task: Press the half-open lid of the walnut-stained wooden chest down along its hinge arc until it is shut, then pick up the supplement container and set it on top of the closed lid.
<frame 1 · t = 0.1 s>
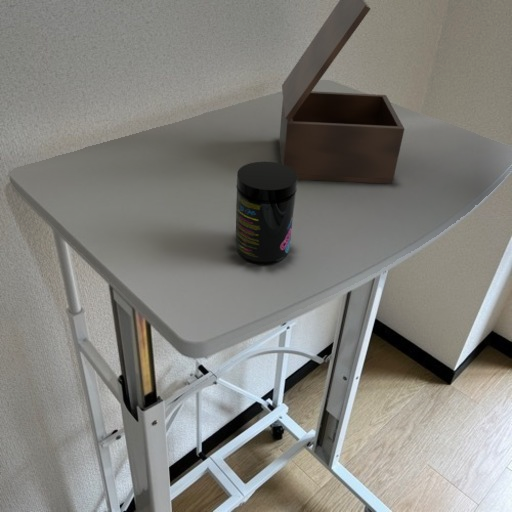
chest: (332, 161, 88), on the table
supplement container: (261, 252, 67), on the table
lid: (320, 51, 78), point 17 cm above the table, hinge at 60.0°
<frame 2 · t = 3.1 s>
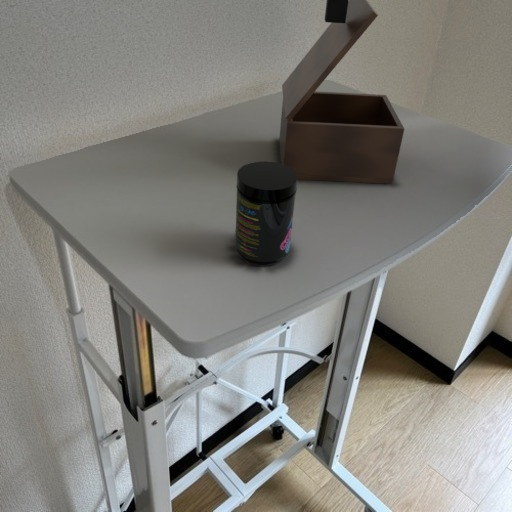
hand: (334, 21, 76), 21 cm above the table, tool pointing down, fingers closed
lid: (324, 54, 78), point 16 cm above the table, hinge at 55.8°, touching gripper
everything else where it was.
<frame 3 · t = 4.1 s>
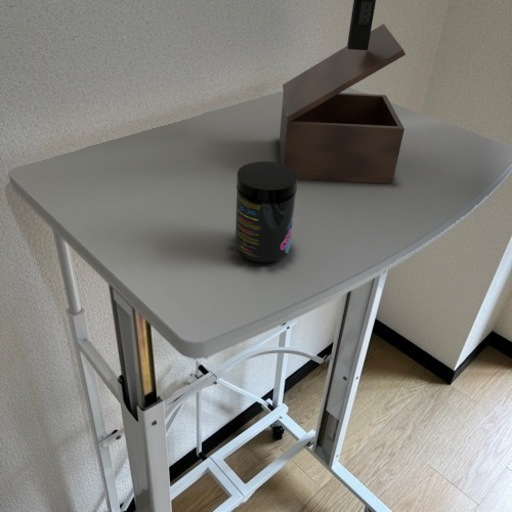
hand: (357, 48, 78), 18 cm above the table, tool pointing down, fingers closed
lid: (337, 71, 80), point 14 cm above the table, hinge at 34.7°, touching gripper
everything else where it was.
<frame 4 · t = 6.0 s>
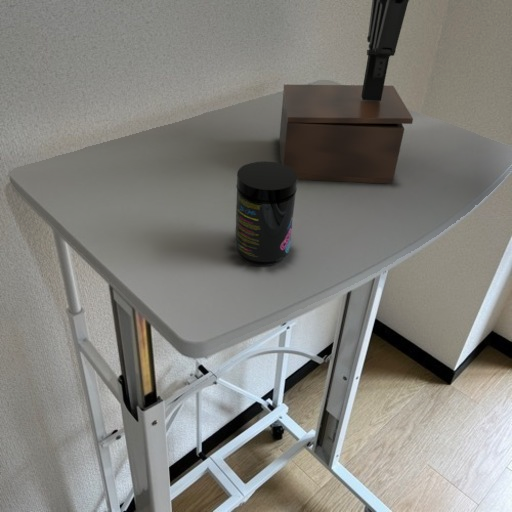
hand: (371, 98, 82), 10 cm above the table, tool pointing down, fingers closed
lid: (343, 102, 82), point 10 cm above the table, hinge at 2.3°, touching gripper
everything else where it was.
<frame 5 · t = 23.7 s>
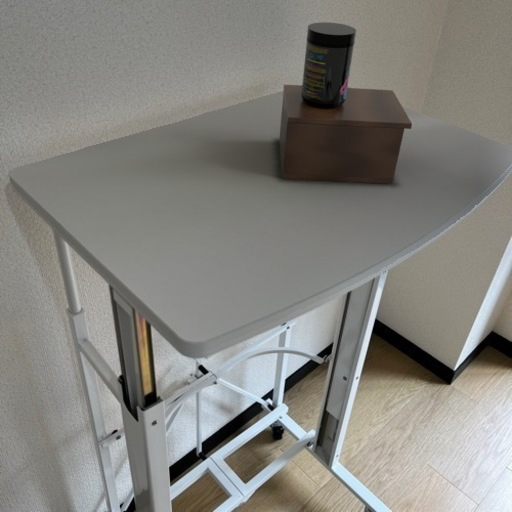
supplement container: (322, 102, 82), point 9 cm above the table, touching lid
lid: (343, 105, 83), point 9 cm above the table, hinge at -0.2°, touching chest, supplement container
at the end: lid at +0° (first picture: +60°); supplement container inside the target area on the chest (0.2 cm from its centre), point 9.4 cm above the chest's base; supplement container tilted 0° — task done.
